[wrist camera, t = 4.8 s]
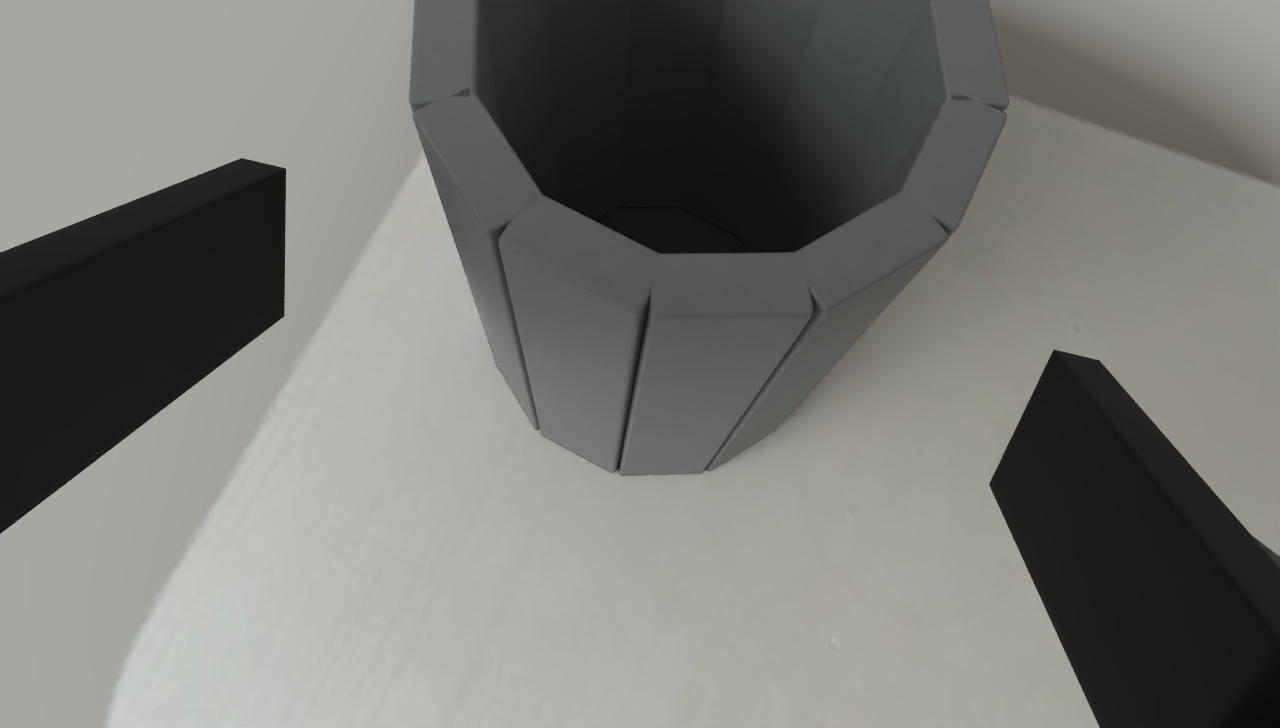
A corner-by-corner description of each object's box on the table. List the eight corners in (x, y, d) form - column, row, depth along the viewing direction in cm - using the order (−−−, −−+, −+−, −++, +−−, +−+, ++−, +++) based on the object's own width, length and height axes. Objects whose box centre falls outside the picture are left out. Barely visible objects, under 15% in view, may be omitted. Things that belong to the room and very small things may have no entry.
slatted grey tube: (432, 378, 23) (286, 133, 12) (591, 131, 26) (594, -257, 15) (726, 535, 23) (868, 432, 11) (858, 263, 25) (1079, -42, 14)
